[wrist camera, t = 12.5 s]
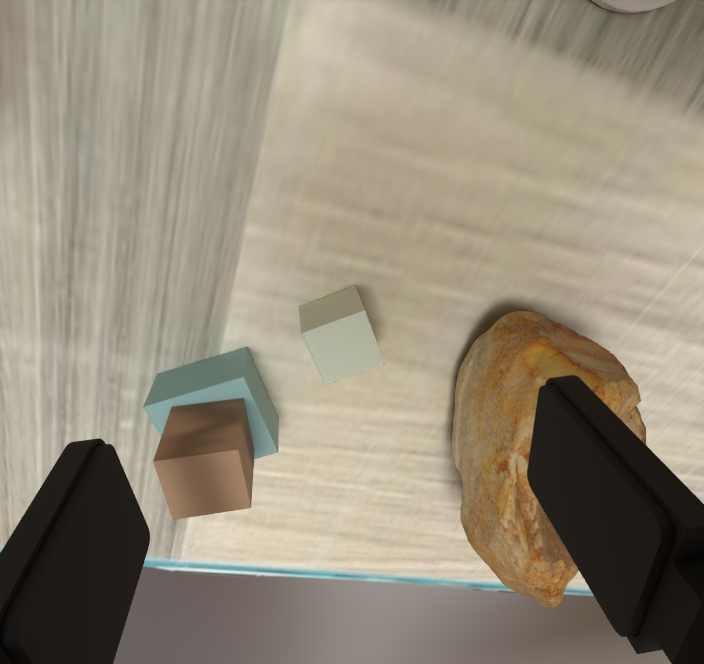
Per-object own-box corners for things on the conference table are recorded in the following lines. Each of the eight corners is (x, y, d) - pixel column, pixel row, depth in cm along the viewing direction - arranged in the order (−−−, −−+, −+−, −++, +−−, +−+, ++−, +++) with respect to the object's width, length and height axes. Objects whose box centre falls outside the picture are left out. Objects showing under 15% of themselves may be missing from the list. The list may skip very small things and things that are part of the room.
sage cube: (355, 285, 38) (365, 309, 34) (373, 334, 41) (384, 363, 36) (298, 306, 39) (301, 333, 34) (320, 353, 41) (324, 385, 37)
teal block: (247, 345, 40) (243, 376, 35) (278, 415, 44) (278, 452, 39) (158, 372, 40) (143, 407, 35) (197, 440, 44) (187, 479, 39)
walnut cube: (243, 397, 36) (238, 449, 31) (254, 451, 39) (250, 507, 34) (171, 406, 36) (153, 461, 30) (187, 460, 38) (172, 519, 33)
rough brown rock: (555, 485, 54) (658, 606, 41) (423, 498, 50) (490, 637, 37) (623, 298, 45) (787, 379, 31) (466, 296, 40) (578, 388, 27)
